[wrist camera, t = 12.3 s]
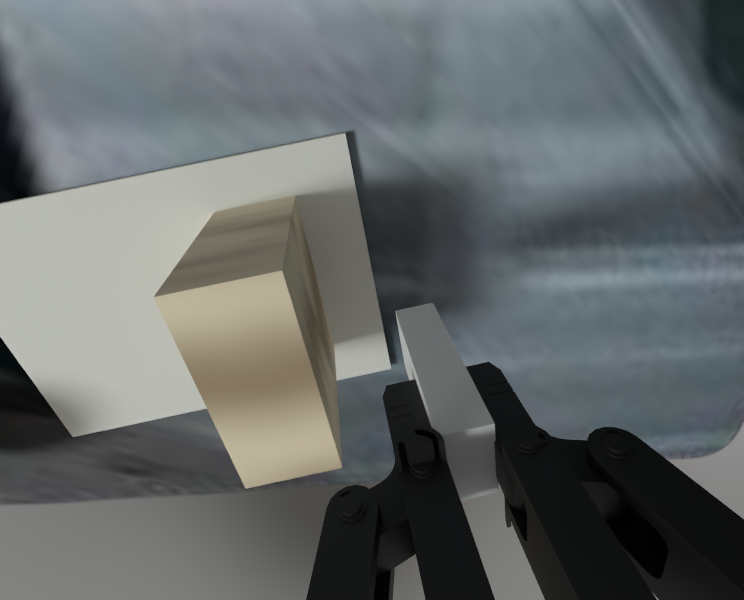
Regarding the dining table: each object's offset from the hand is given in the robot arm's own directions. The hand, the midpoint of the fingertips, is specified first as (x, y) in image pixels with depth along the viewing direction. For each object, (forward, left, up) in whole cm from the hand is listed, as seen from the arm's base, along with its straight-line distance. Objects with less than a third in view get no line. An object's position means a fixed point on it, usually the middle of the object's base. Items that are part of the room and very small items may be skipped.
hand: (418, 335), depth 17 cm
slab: (+6, 0, -7) cm, 9 cm away
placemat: (+11, 0, -8) cm, 13 cm away
